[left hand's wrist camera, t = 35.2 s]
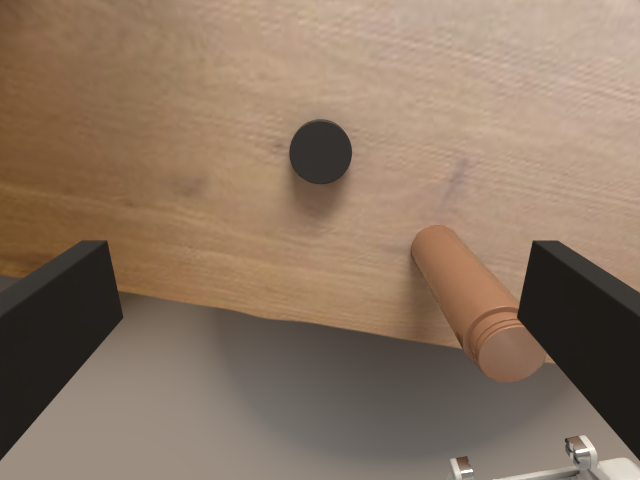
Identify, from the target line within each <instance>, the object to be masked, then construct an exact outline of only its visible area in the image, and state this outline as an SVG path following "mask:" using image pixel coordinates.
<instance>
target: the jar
mask: <svg viewBox="0 0 640 480" xmlns="http://www.w3.org/2000/svg"><path fill="white" fill-rule="evenodd" d="M411 253H412V257H413V259H414V261H415V263H416V265H417V266H418V268H419V270H420V272H421V274H422V276H423V277H424V279H425V281H426V283H427V285H428V286H429V288H430V290H431V292H432V294H433V296H434V297H435V299H436V301H437V303H438V305H439V306H440V308H441V310H442V312H443V314H444V316H445V317H446V319H447V321H448V323H449V325H450V327H451V328H452V330H453V332H454V334H455V336H456V337H457V339H458V341H459V343H460V345H461V347H462V348H463V350H464V352H465V354H466V355H467V357H468V358H469V359H470V360H471V361H472V362H473V363H475V364H476V365H477V367H478V368H479V369H480V370H481V371H482V372H483V373H484V374H485V375H486V376H487V377H489V378H491V379H493V380H495V381H499V382H515V381H519V380H522V379H525V378H527V377H529V376H530V375H532V374H533V373H535V372H536V371H537V370H538V369H539V368H540V367H541V365H542V364H543V362H544V360H545V358H546V354H547V352H546V351H545V350H544V349H543V348H542V347H541V345H540V344H539V343H538V342H537V341H536V340H535V338H534V337H533V336H532V335H531V334H530V333H529V331H528V330H527V329H526V328H525V327H524V326H523V324H522V323H521V322H520V321H519V320H518V319H517V314H518V309H519V304H520V302H519V301H518V300H517V299H516V298H515V297H514V296H513V295H512V294H511V293H510V292H509V291H508V289H507V288H506V287H505V286H504V285H503V284H502V283H501V282H500V281H499V280H498V279H497V278H496V277H495V276H494V275H493V273H492V272H491V271H490V270H489V269H488V268H487V267H486V266H485V265H484V264H483V263H482V262H481V261H480V260H479V258H478V257H477V256H476V255H475V254H474V253H473V252H472V251H471V250H470V249H469V248H468V247H467V246H466V245H465V243H464V242H463V241H462V240H461V239H460V238H459V237H458V236H457V235H456V234H455V233H454V232H453V231H452V230H451V229H449V228H447V227H444V226H431V227H428V228H426V229H424V230H422V231H421V232H420V233H418V235H417V236H416V237H415V239H414V240H413V243H412V247H411Z"/></svg>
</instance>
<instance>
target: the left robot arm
mask: <svg viewBox="0 0 640 480" xmlns="http://www.w3.org/2000/svg"><path fill="white" fill-rule="evenodd" d="M122 319H123V314H122V309H121V304H120V300H119V295H118V290H117V285H116V281H115V276H114V271H113V266H112V262H111V257H110V252H109V247H108V243H107V241H81V242H79V243H78V244H76V245H75V246H73V247H71V248H70V249H68V250H67V251H65V252H64V253H62V254H60V255H59V256H57V257H56V258H54V259H53V260H51V261H50V262H48V263H46V264H45V265H43V266H42V267H40V268H39V269H37V270H35V271H34V272H32V273H31V274H29V275H28V276H26V277H24V278H23V279H21V280H20V281H18V282H17V283H15V284H13V285H12V286H10V287H9V288H7V289H6V290H4V291H2V292H1V293H0V460H1V459H2V458H3V457H4V456H5V455H6V453H7V452H8V451H9V450H10V449H11V448H12V447H13V445H14V444H15V443H16V442H17V441H18V439H19V438H20V437H21V436H22V435H23V434H24V433H25V431H26V430H27V429H28V428H29V427H30V426H31V424H32V423H33V422H34V421H35V420H36V419H37V417H38V416H39V415H40V414H41V413H42V412H43V410H44V409H45V408H46V407H47V406H48V405H49V403H50V402H51V401H52V400H53V399H54V398H55V397H56V395H57V394H58V393H59V392H60V391H61V389H62V388H63V387H64V386H65V385H66V384H67V382H68V381H69V380H70V379H71V378H72V377H73V376H74V374H75V373H76V372H77V371H78V370H79V369H80V367H81V366H82V365H83V364H84V363H85V362H86V360H87V359H88V358H89V357H90V356H91V355H92V353H93V352H94V351H95V350H96V349H97V348H98V347H99V345H100V344H101V343H102V342H103V341H104V340H105V338H106V337H107V336H108V335H109V334H110V333H111V331H112V330H113V329H114V328H115V327H116V326H117V324H118V323H119V322H120V321H121V320H122ZM517 319H518V320H519V321H520V322H521V323H522V324H523V326H524V327H525V328H526V329H527V330H528V331H529V333H530V334H531V335H532V336H533V337H534V338H535V340H536V341H537V342H538V343H539V344H540V345H541V347H542V348H543V349H544V350H545V351H546V352H547V353H548V355H549V356H550V357H551V358H552V359H553V360H554V362H555V363H556V364H557V365H558V366H559V367H560V369H561V370H562V371H563V372H564V373H565V374H566V376H567V377H568V378H569V379H570V380H571V381H572V383H573V384H574V385H575V386H576V387H577V388H578V390H579V391H580V392H581V393H582V394H583V395H584V397H585V398H586V399H587V400H588V401H589V402H590V403H591V405H592V406H593V407H594V408H595V409H596V410H597V412H598V413H599V414H600V415H601V416H602V417H603V419H604V420H605V421H606V422H607V423H608V424H609V426H610V427H611V428H612V429H613V430H614V431H615V433H616V434H617V435H618V436H619V437H620V438H621V440H622V441H623V442H624V443H625V444H626V445H627V446H628V448H629V449H630V450H631V451H632V452H633V453H634V455H635V456H636V457H637V458H638V459H639V460H640V293H639V292H638V291H636V290H634V289H633V288H631V287H630V286H628V285H627V284H625V283H623V282H622V281H620V280H619V279H617V278H616V277H614V276H612V275H611V274H609V273H608V272H606V271H605V270H603V269H601V268H600V267H598V266H597V265H595V264H594V263H592V262H590V261H589V260H587V259H586V258H584V257H583V256H581V255H580V254H578V253H576V252H575V251H573V250H572V249H570V248H569V247H567V246H565V245H564V244H562V243H561V242H559V241H533V243H532V247H531V252H530V257H529V262H528V266H527V271H526V276H525V281H524V285H523V290H522V295H521V300H520V304H519V309H518V314H517Z"/></svg>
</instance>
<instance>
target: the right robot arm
mask: <svg viewBox="0 0 640 480" xmlns="http://www.w3.org/2000/svg"><path fill="white" fill-rule="evenodd" d="M565 442H566V443H567V444H566V452H567V454H568V455H569V457H570V458H571V459H573V460H574V464H575V466H569V467H564V468H557V469H551V470H546V471H540V472H534V473H528V474H522V475H516V476H511V477H505V478H499V479H493V480H640V467H638V466H637V465H636V464H635V463H633V462H632V461H630V460H629V459H627V458H615V459H610V460H604V461H598V460H597V452H596V450H595V448H594V446H593V445H592V444H591V442H590V441H589V440H588V438H587V437H586V436H585V435H581V436H576V437H571V438H566V439H565ZM450 464H451V469H452V471H451V472H450V473H449V475H448V476H447V478H446V479H445V480H474V479H475V478H474V474H473V471H472V468H471V465H470V464H469V460H468V457H467V456H466V457H460V458H453V459H450Z"/></svg>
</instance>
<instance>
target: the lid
mask: <svg viewBox="0 0 640 480" xmlns="http://www.w3.org/2000/svg"><path fill="white" fill-rule="evenodd" d="M351 157H352V148H351V143H350V141H349V138H348V136H347V135H346V133H345V132H344V130H343V129H342V128H341V127H340V126H339V125H337V124H336V123H334V122H332V121H328V120H322V119H319V120H313V121H310V122H308V123H306V124H304V125H303V126H302V127H300V128H299V129H298V131H297V132H296V134H295V135H294V137H293V139H292V142H291V145H290V160H291V163H292V166H293V168H294V169H295V171H296V172H297V173H298V175H299V176H301V177H302V178H303V179H305V180H306V181H309V182H311V183H316V184H326V183H330V182H333V181H335V180H337V179H338V178H340V177H341V176H342V175H343V174H344V173H345V171H346V170H347V168H348V166H349V164H350V161H351Z"/></svg>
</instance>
